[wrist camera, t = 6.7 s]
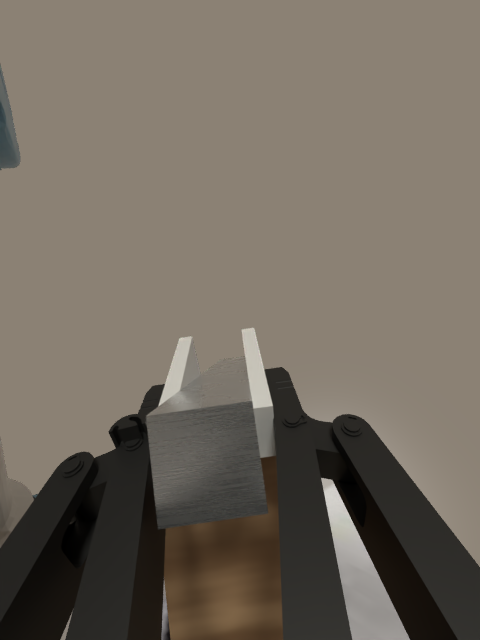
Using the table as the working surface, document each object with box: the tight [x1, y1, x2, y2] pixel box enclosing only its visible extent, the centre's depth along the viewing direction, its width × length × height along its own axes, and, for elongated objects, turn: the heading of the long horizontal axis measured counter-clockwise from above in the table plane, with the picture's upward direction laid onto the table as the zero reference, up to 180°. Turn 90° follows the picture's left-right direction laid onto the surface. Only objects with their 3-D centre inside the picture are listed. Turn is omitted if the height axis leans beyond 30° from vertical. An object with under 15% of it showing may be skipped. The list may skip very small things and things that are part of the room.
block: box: [146, 356, 268, 529], centre depth 19 cm, size 24×3×3 cm, turn 179°
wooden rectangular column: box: [164, 456, 283, 640], centre depth 23 cm, size 16×10×32 cm, turn 0°
